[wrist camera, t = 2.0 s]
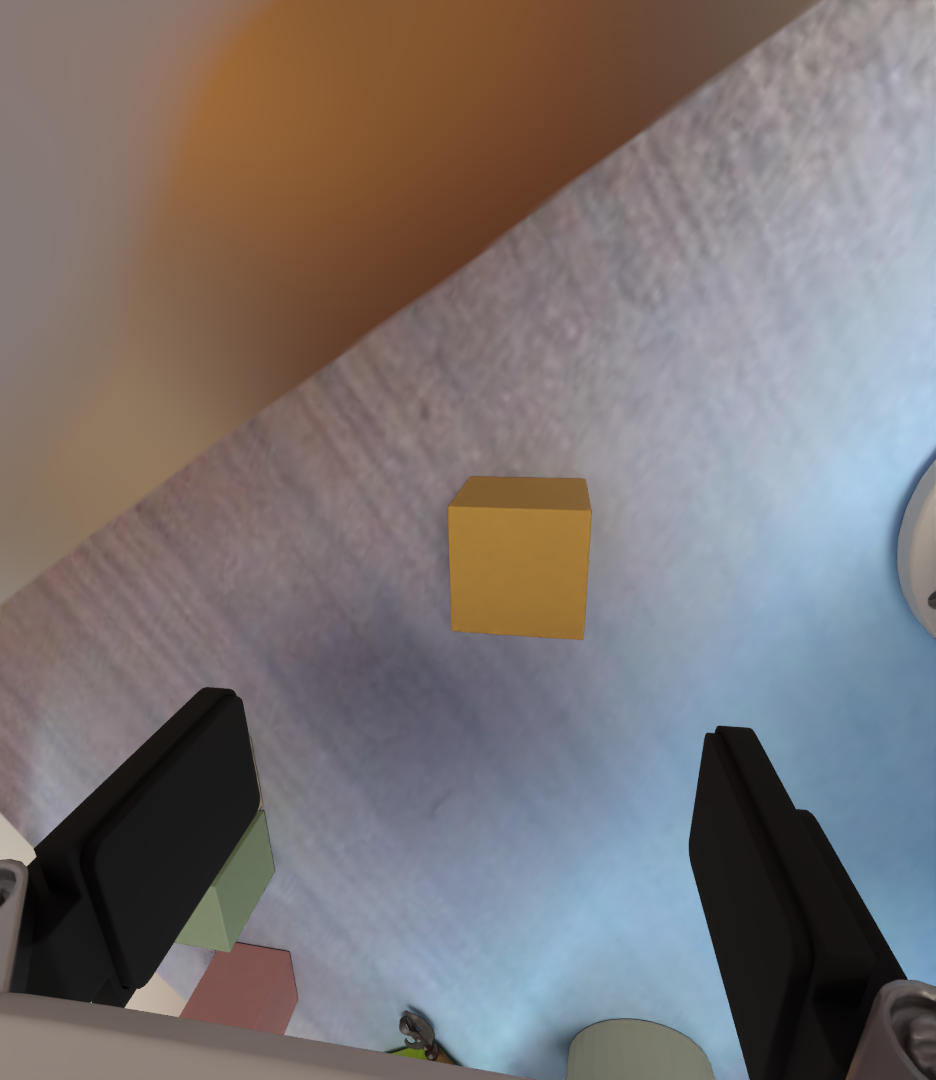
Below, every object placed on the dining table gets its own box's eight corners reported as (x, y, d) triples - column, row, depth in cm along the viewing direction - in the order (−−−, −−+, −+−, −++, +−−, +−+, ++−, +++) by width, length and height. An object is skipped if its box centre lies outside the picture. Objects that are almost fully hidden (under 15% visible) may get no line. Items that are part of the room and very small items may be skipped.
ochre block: (470, 476, 24) (447, 506, 19) (586, 478, 23) (591, 510, 18) (471, 580, 25) (451, 631, 20) (579, 585, 24) (583, 640, 20)
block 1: (190, 801, 33) (129, 873, 29) (264, 810, 32) (214, 887, 28) (204, 860, 35) (149, 938, 30) (275, 871, 34) (229, 953, 29)
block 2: (223, 939, 37) (175, 1023, 33) (289, 951, 37) (250, 1038, 32) (234, 987, 39) (190, 1073, 34) (298, 999, 38) (261, 1089, 34)
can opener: (482, 1087, 38) (480, 1109, 37) (455, 1091, 38) (451, 1112, 37) (417, 1001, 36) (412, 1021, 35) (389, 1007, 37) (383, 1027, 36)
